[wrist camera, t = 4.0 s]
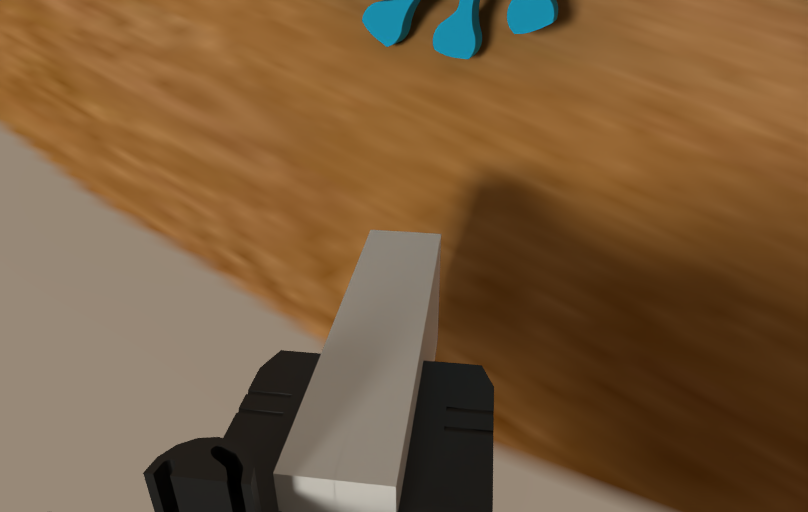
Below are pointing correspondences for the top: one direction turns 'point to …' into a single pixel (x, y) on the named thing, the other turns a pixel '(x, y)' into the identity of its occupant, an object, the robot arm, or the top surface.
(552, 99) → the top surface
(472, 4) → the gear
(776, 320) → the top surface
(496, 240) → the top surface
